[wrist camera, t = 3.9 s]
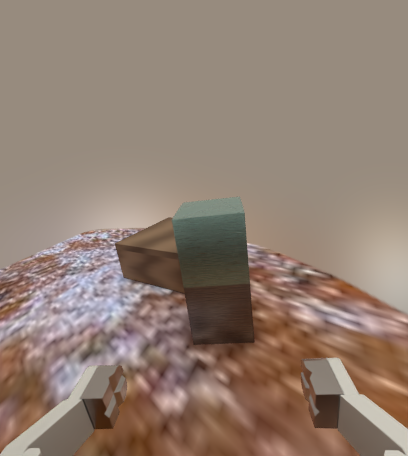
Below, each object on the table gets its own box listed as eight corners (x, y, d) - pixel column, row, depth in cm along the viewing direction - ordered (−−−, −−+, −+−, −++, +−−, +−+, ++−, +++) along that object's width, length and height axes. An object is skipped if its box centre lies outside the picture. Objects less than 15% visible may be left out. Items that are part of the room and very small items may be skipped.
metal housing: (193, 344, 21) (171, 219, 17) (199, 306, 25) (182, 202, 22) (254, 342, 20) (244, 212, 16) (248, 303, 25) (239, 196, 21)
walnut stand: (123, 277, 33) (114, 243, 32) (173, 245, 42) (168, 217, 40) (189, 294, 27) (183, 254, 26) (231, 253, 36) (228, 221, 34)
